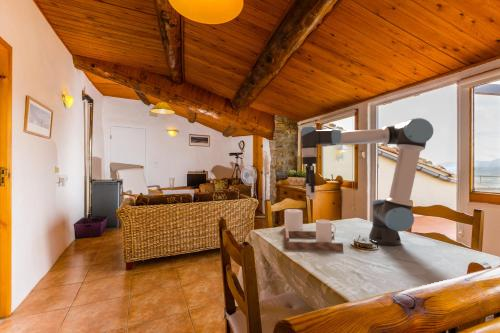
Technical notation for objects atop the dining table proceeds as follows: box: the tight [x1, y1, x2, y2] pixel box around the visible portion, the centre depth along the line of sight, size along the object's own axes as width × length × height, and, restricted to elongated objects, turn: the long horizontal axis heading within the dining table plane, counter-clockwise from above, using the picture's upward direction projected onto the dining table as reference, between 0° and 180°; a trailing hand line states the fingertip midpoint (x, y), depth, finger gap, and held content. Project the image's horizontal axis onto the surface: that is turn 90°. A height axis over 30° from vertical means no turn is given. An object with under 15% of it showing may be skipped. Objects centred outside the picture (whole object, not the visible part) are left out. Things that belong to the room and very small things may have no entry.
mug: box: [315, 219, 337, 242], centre depth 128 cm, size 12×8×12 cm
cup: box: [284, 208, 304, 231], centre depth 157 cm, size 12×12×12 cm
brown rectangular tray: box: [284, 227, 344, 252], centre depth 129 cm, size 28×21×5 cm
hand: (310, 197), depth 124 cm, fingers open, 13 cm apart
